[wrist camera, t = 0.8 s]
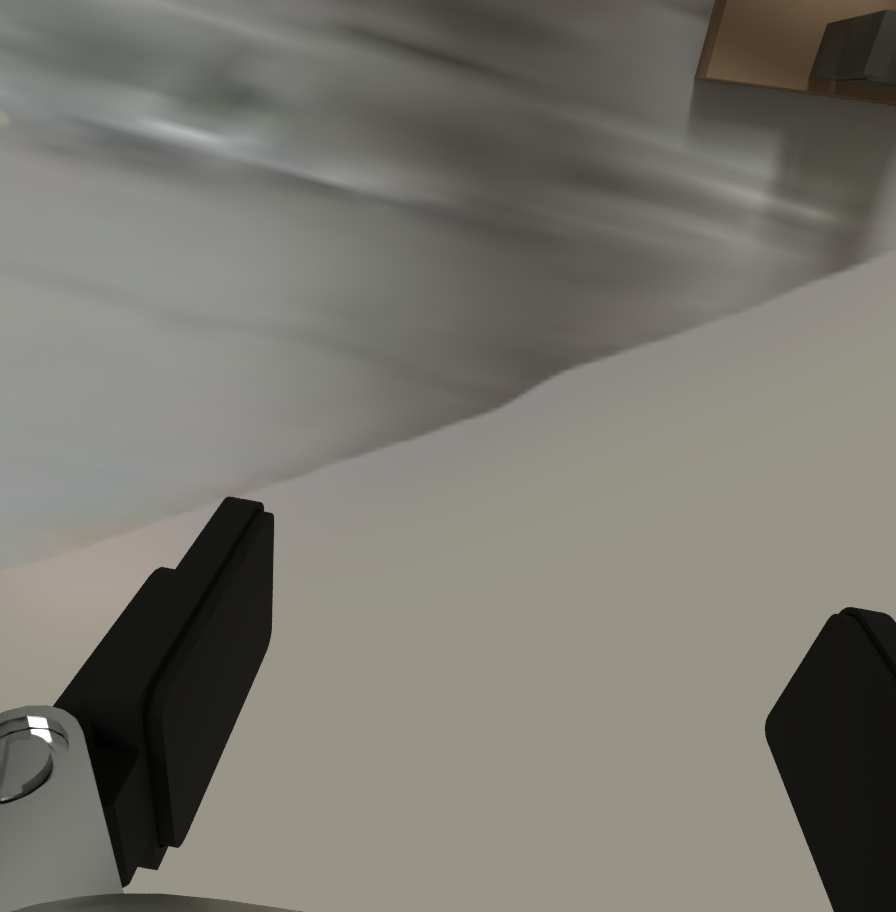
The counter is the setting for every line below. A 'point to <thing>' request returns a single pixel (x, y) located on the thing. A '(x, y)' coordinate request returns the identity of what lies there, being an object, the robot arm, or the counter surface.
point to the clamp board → (804, 47)
